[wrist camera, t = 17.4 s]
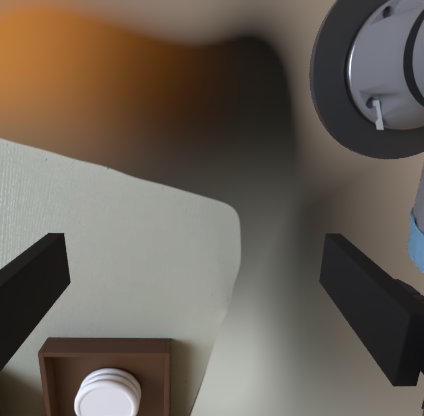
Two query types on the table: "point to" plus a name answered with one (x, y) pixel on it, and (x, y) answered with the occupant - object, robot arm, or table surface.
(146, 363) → the holder
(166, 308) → the table surface
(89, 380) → the coaster
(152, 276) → the table surface
